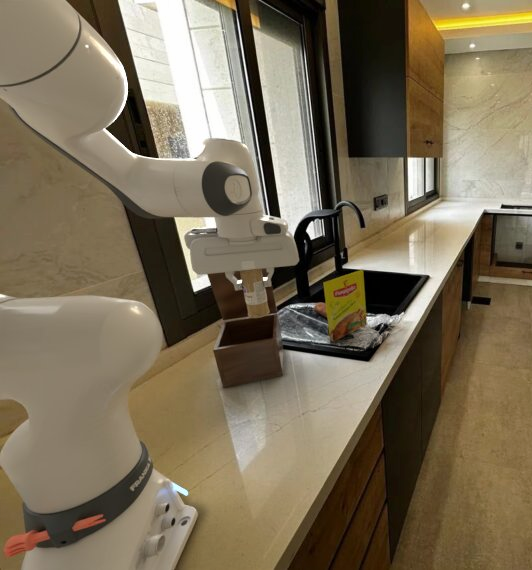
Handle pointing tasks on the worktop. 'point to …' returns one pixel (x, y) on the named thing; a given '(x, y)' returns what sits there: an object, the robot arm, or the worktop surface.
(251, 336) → the chest
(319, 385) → the worktop surface
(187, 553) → the worktop surface
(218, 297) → the lid
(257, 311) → the sprinkles bottle
